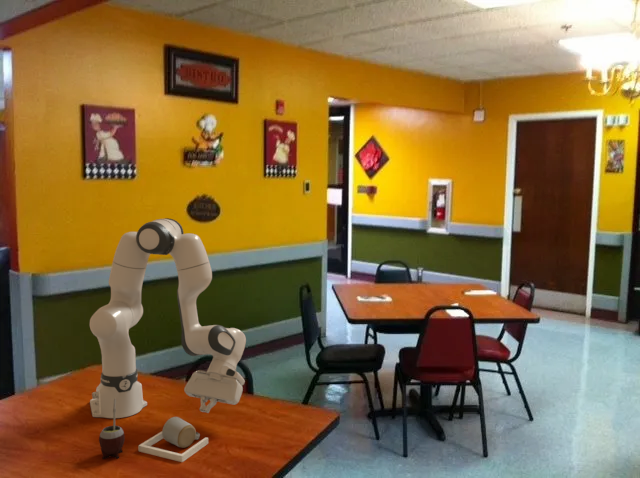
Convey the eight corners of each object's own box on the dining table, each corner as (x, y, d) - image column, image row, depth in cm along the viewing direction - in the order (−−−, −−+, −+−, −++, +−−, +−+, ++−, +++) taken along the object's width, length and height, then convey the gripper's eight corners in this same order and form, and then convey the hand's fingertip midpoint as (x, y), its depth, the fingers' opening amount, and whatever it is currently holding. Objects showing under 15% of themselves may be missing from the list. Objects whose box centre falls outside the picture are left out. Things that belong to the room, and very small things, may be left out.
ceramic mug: (178, 452, 173) (178, 427, 172) (161, 444, 178) (161, 420, 177) (206, 440, 181) (206, 417, 181) (189, 433, 186) (189, 410, 186)
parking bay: (138, 451, 174) (138, 445, 173) (166, 433, 185) (166, 428, 185) (182, 462, 167) (182, 456, 167) (208, 443, 179) (208, 437, 179)
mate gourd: (107, 463, 166) (106, 413, 165) (93, 454, 171) (92, 405, 170) (131, 454, 172) (129, 405, 170) (116, 446, 177) (115, 398, 175)
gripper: (191, 365, 200) (173, 402, 192) (242, 373, 191) (225, 412, 183) (199, 373, 204) (182, 410, 196) (249, 382, 196) (233, 421, 188)
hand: (203, 411), depth 190 cm, fingers closed
